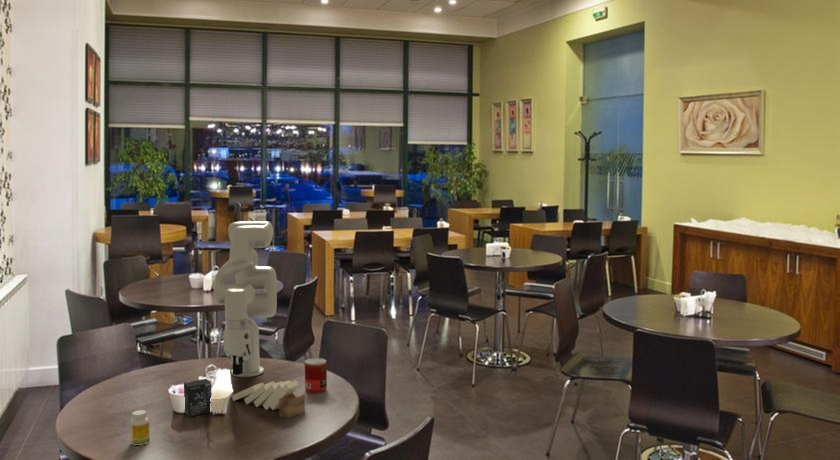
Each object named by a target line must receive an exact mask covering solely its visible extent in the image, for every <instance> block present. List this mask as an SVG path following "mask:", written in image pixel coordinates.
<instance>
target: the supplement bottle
mask: <svg viewBox="0 0 840 460" xmlns="http://www.w3.org/2000/svg"><path fill="white" fill-rule="evenodd" d="M131 413H132V415H131V416H132V419H131V420H130V422H129V424H130V425H129V426H130V430H129V431H130V444H131V445H132V444H133V445H132V446H134V445H142V446H144V445H143V444H145V445H147V444H149V443H150V441H151V440H150V439H151V438H150V420H149V418H148V417H147V410H144V409H141V410H140V409H139V410H134V411H133V412H131ZM148 442H149V443H148Z"/></svg>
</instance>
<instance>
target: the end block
mask: <svg viewBox="0 0 840 460" xmlns="http://www.w3.org/2000/svg"><path fill="white" fill-rule="evenodd" d="M305 398H306V396H305V394H304V393H302V392H301V393H300V392H296V391H294V392H293V394H290V395H288V396H285V397H282V398H280V399H279V408H278V411H279V417H282V418H285V419H291V418H293V417H295V416H297V415H298V416H299V415H300V414H302V413H305V412H306V409H305V407H306V405H305V403H306V401H305Z"/></svg>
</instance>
